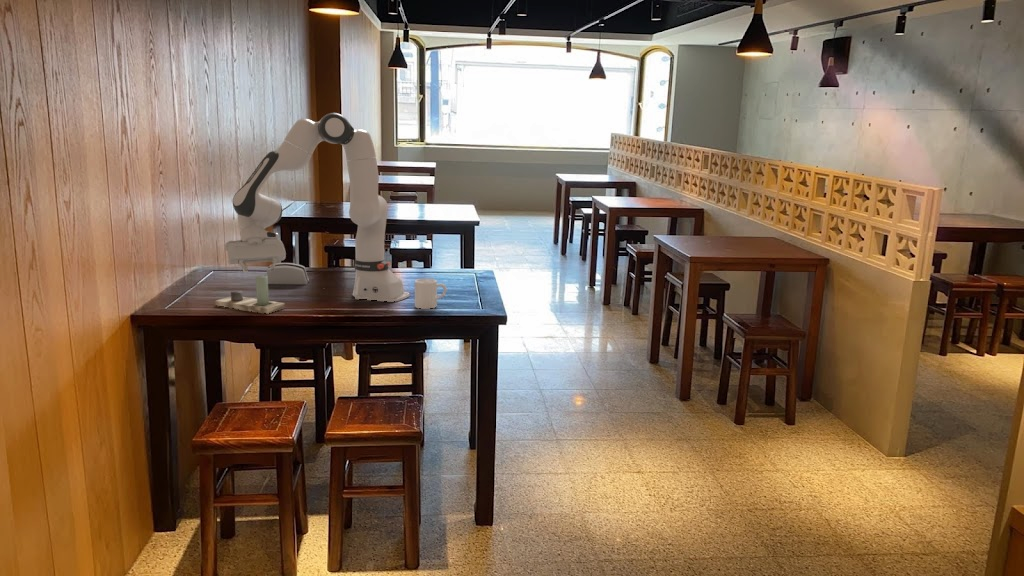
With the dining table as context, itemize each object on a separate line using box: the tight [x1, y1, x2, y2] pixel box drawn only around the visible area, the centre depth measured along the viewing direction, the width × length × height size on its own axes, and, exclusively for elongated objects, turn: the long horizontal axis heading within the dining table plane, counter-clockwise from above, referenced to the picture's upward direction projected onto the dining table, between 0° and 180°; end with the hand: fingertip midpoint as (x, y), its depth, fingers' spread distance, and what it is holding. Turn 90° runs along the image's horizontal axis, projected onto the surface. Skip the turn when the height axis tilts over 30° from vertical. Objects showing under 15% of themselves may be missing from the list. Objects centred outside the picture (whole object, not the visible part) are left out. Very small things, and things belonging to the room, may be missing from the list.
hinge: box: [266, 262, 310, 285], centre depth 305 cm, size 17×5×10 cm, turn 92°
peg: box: [255, 275, 270, 306], centre depth 264 cm, size 4×4×12 cm
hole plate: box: [214, 290, 286, 315], centre depth 267 cm, size 24×9×5 cm, turn 67°
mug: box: [414, 278, 448, 310], centre depth 273 cm, size 8×12×10 cm, turn 86°
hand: (259, 270), depth 266 cm, fingers open, 8 cm apart
